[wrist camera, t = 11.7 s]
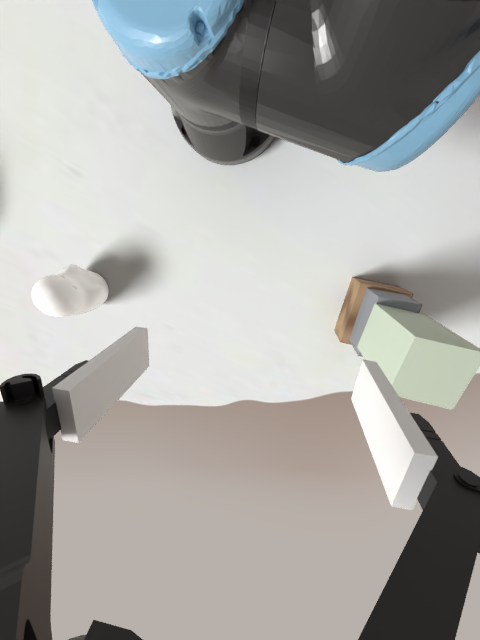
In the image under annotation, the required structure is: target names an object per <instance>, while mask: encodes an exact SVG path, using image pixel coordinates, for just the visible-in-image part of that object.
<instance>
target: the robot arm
mask: <svg viewBox="0 0 480 640" xmlns="http://www.w3.org/2000/svg"><path fill="white" fill-rule="evenodd" d="M92 1H93V4H94V7H95V9H96V11H97V13H98V15H99V17H100V19H101V21H102V23H103V25H104V27H105V28H106V30H107V31H108V33H109V34H110V36H111V37H112V39H113V40H114V41H115V43H116V44H117V46H118V47H119V49H120V51H121V52H122V54H123V56H124V57H125V58H126V59H127V60H128V62H129V63H130V64H131V65H133V67H134V68H135V69H136V70H138V71H140V72H141V73H142V74H143V76H144V77H145V78H146V79H147V80H148V81H149V82H150V83H151V84H152V85H153V86H154V87H155V88H156V89H157V90H158V91H159V93H160V94H161V95H162V96H163V97H164V98H165V99H166V100H167V101H168V102H169V103H170V104H171V108H172V113H173V116H174V119H175V122H176V124H177V127H178V129H179V131H180V132H181V134H182V136H183V137H184V139H185V140H186V141H187V143H188V144H189V145H190V146H191V147H192V148H193V149H194V150H195V151H196V152H197V153H199V154H200V155H201V156H203V157H204V158H206V159H207V160H209V161H212V162H214V163H217V164H222V165H237V164H241V163H245V162H247V161H249V160H252V159H253V158H255V157H257V156H258V155H259V154H261V153H262V152H263V151H264V150H265V149H266V148H267V147H268V146H269V145H270V144H271V142H272V141H273V139H274V138H275V137H277V138H280V139H283V140H286V141H288V142H291V143H294V144H297V145H300V146H302V147H305V148H308V149H311V150H313V151H316V152H319V153H322V154H325V155H327V156H330V157H333V158H336V159H337V160H338V162H340V163H341V164H343V165H356V166H360V167H363V168H366V169H370V170H373V171H377V172H381V171H390V170H395V169H398V168H400V167H402V166H404V165H406V164H408V163H409V162H411V161H413V160H414V159H416V158H417V157H418V156H420V155H421V154H422V153H424V152H425V151H426V150H427V149H428V148H429V147H431V146H432V145H433V144H434V143H435V142H436V141H437V140H438V139H439V138H440V137H441V136H442V135H444V134H445V133H446V132H447V131H448V130H449V128H450V127H451V126H452V125H453V124H454V123H455V122H456V121H457V120H458V119H459V118H460V117H461V116H462V115H463V113H464V112H465V111H466V110H467V109H468V108H469V107H470V105H471V104H472V103H473V102H474V101H475V99H476V98H477V97H478V96H479V94H480V0H92ZM148 367H149V353H148V331H147V328H141V327H135V328H134V329H132V330H131V331H129V332H128V333H127V334H125V335H124V336H123V337H121V338H120V339H118V340H117V341H116V342H114V343H113V344H112V345H110V346H109V347H108V348H106V349H105V350H103V351H102V352H101V353H99V354H98V355H97V356H95V357H94V358H92V359H91V360H90V361H83V362H81V363H78V364H76V365H74V366H73V367H71V368H70V369H69V370H68V371H66V372H64V373H63V374H61V376H59V377H57V378H56V379H54V380H53V381H51V382H50V383H49V384H47V385H46V386H44V387H43V386H42V382H41V378H40V376H39V375H37V374H22V375H18V376H15V377H12V378H10V379H7V380H6V381H5V382H3V383H2V384H1V385H0V391H1V394H2V398H3V401H4V402H0V640H52V633H51V622H50V606H51V605H50V604H51V570H52V533H53V528H52V527H53V493H54V456H55V440H54V435H55V434H56V433H57V432H58V431H59V430H61V433H62V438H63V440H67V441H71V442H76V443H79V442H80V441H81V440H82V439H83V438H84V437H85V435H86V434H87V433H88V432H89V431H90V430H91V429H92V428H93V427H94V425H96V424H97V422H98V421H99V420H100V419H101V418H102V417H103V416H104V415H105V414H106V413H107V412H108V410H109V409H110V408H111V407H112V406H113V405H114V404H115V403H116V402H117V401H118V400H119V398H120V397H121V396H122V395H123V394H124V393H125V392H126V391H127V390H128V389H129V388H130V386H131V385H132V384H133V383H134V382H135V381H136V380H137V379H138V378H139V377H140V376H141V374H142V373H143V372H144V371H145V370H146V369H147V368H148ZM351 399H352V402H353V405H354V407H355V410H356V413H357V415H358V418H359V421H360V423H361V426H362V429H363V432H364V434H365V437H366V440H367V442H368V445H369V448H370V450H371V453H372V456H373V458H374V461H375V464H376V466H377V469H378V472H379V474H380V477H381V480H382V482H383V485H384V488H385V490H386V493H387V496H388V498H389V501H390V504H391V506H393V507H398V508H403V509H408V510H413V508H414V506H415V504H416V502H417V500H418V501H419V503H420V505H421V507H422V509H423V512H422V514H421V516H420V518H419V520H418V522H417V524H416V526H415V528H414V530H413V532H412V534H411V536H410V538H409V540H408V542H407V544H406V546H405V547H404V550H403V552H402V553H401V555H400V558H399V559H398V562H397V564H396V565H395V568H394V569H393V572H392V573H391V575H390V577H389V580H388V581H387V583H386V586H385V587H384V589H383V591H382V593H381V596H380V597H379V599H378V601H377V603H376V605H375V607H374V609H373V611H372V613H371V615H370V617H369V619H368V621H367V623H366V625H365V627H364V629H363V631H362V633H361V635H360V637H359V639H358V640H455V637H456V633H457V629H458V625H459V621H460V617H461V614H462V610H463V606H464V602H465V598H466V594H467V590H468V586H469V583H470V579H471V575H472V571H473V567H474V563H475V560H476V556H477V552H478V553H480V477H478V476H477V475H475V474H474V473H473V472H471V471H469V470H467V469H465V468H463V467H460V466H459V464H458V463H457V461H456V460H455V459H454V458H453V456H452V454H451V453H450V451H449V450H448V449H447V447H446V446H445V445H444V443H443V442H442V441H441V439H440V437H439V436H438V435H437V434H436V433H435V430H434V429H433V428H432V426H431V425H430V424H429V422H427V421H426V420H425V419H424V418H423V417H421V416H420V415H419V414H415V413H409V411H408V410H407V409H406V407H405V405H404V404H403V402H402V400H401V399H400V397H399V396H398V394H397V393H396V391H395V390H394V388H393V387H392V385H391V383H390V382H389V380H388V379H387V377H386V376H385V374H384V373H383V371H382V370H381V368H380V366H379V365H378V363H377V362H375V361H369V360H362V363H361V367H360V370H359V374H358V377H357V381H356V384H355V388H354V391H353V395H352V398H351ZM69 640H142V639H141V638H140V637H139V636H137V635H136V634H135V633H134V632H132V631H131V630H128V629H124V628H121V627H117V626H113V625H110V624H106V623H103V622H99V621H96V620H93V622H92V625H91V627H90V629H89V631H88V633H87V635H81V636H78V637H75V638H71V639H69Z"/></svg>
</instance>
